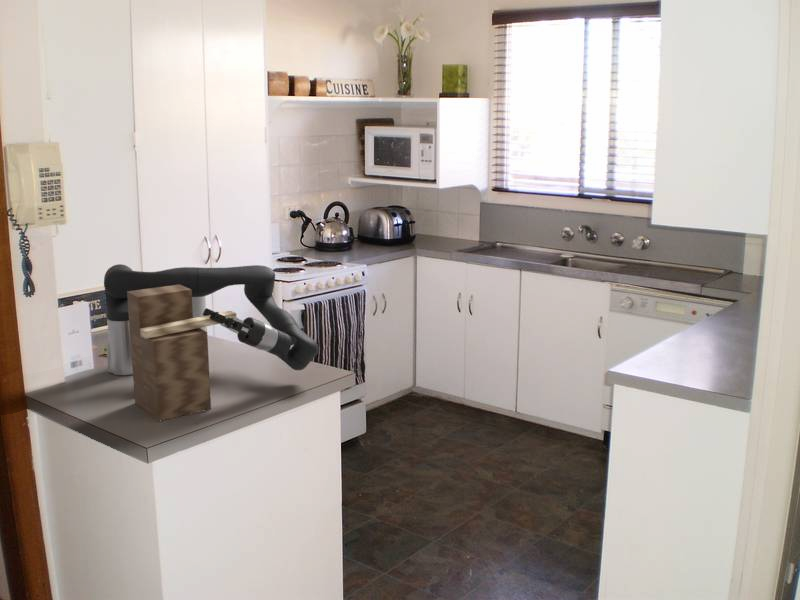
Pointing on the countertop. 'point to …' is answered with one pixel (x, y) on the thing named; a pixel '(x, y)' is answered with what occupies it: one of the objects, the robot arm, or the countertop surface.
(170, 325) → the maple slat
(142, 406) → the walnut step stand
